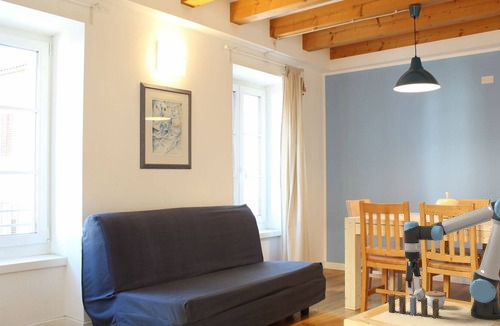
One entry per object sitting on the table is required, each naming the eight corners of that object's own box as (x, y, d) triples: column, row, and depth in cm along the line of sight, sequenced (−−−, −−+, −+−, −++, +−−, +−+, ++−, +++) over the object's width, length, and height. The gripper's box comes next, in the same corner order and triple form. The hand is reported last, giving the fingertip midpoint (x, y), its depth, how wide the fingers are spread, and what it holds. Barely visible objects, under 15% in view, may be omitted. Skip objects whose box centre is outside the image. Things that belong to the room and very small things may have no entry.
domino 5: (438, 316, 266) (438, 298, 267) (436, 318, 262) (436, 300, 263) (434, 315, 267) (434, 298, 268) (432, 318, 263) (432, 300, 264)
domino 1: (395, 310, 279) (394, 294, 279) (392, 312, 274) (392, 295, 275) (391, 310, 280) (391, 293, 280) (388, 312, 275) (388, 295, 276)
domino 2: (405, 312, 276) (405, 295, 276) (403, 314, 271) (402, 297, 272) (402, 311, 277) (401, 294, 277) (399, 313, 272) (399, 296, 273)
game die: (423, 307, 300) (430, 296, 294) (409, 302, 301) (415, 290, 296) (424, 297, 307) (431, 285, 301) (410, 291, 309) (416, 280, 303)
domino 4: (427, 314, 269) (427, 297, 270) (425, 317, 265) (425, 299, 266) (423, 314, 271) (423, 297, 271) (421, 316, 266) (421, 299, 267)
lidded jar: (448, 309, 281) (448, 292, 281) (429, 309, 281) (428, 292, 281) (441, 304, 291) (441, 288, 292) (422, 304, 292) (422, 288, 292)
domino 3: (410, 315, 269) (409, 297, 270) (412, 313, 274) (412, 296, 274) (414, 315, 268) (413, 298, 269) (416, 313, 272) (416, 296, 273)
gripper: (413, 254, 260) (414, 296, 259) (425, 248, 281) (426, 287, 280) (398, 253, 264) (400, 295, 263) (411, 248, 285) (412, 286, 284)
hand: (413, 291), depth 271 cm, fingers open, 13 cm apart
